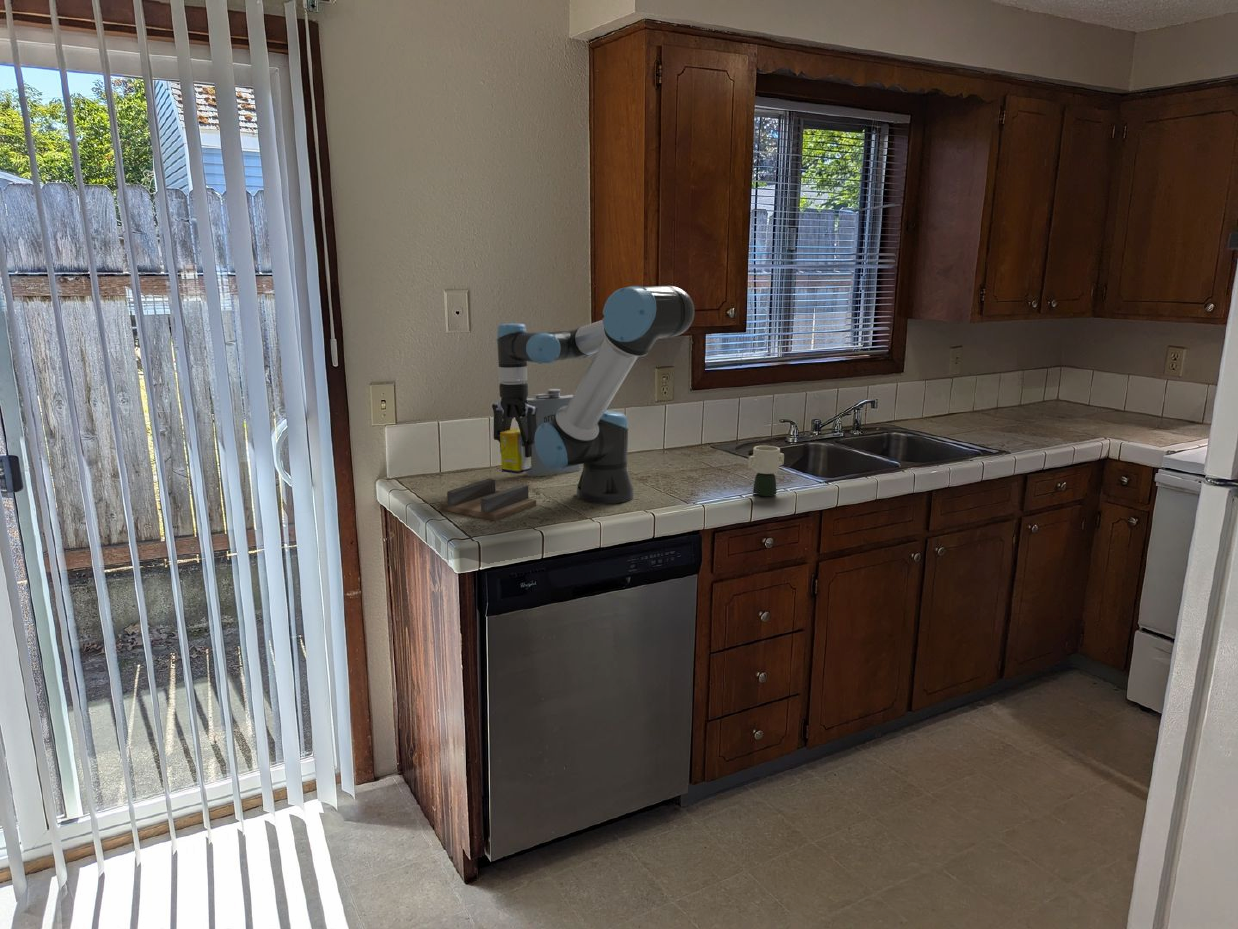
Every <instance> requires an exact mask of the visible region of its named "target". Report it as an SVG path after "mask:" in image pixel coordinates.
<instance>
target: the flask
mask: <svg viewBox="0 0 1238 929" xmlns="http://www.w3.org/2000/svg"><path fill="white" fill-rule="evenodd" d="M561 391H562V390H561V389H560V388H549V389H547V392H545V393H535V394H534V395H535V396H534V397H529V398H528V397H527V402H528V405H530V406H536V407H537V412H536V423H537V428H538V427H539V426H540V425H541V424H543V423H550V422H551V421H552V420H553V418H554V416H555V414H556V412H557V411H558V410H559V409H560V408H561V407H563V406H568V404H569V402H570V400H571V399H572V397H573V395H574V394H567V395H561ZM526 411H527V410H526ZM526 411H525V412H526ZM526 415H527V413H526ZM581 470H582V464H579V465H574V466H570V467H566V468H563V469H562V468H558V469H552V468H549V467H547V466H546V465H545V464H544V463H543V462H542V461H541V460H540V458H539V456H538V454H537V451H536V446H535V443H534V444H532V456H531V470H528V471H525V472H526V473H525V474H527V475H528V476H527V475H526V476H527V477H530V476H537V477H546V476H545V475H548V476H555V475H554V474H557V475H561V474H560V473H564V474H568V473H567V472H570V473H575V472H580V471H581Z"/></svg>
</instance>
